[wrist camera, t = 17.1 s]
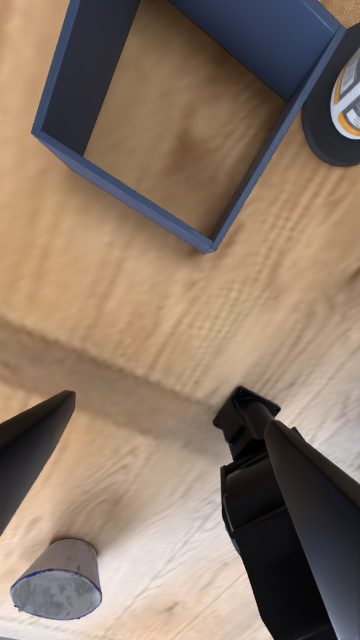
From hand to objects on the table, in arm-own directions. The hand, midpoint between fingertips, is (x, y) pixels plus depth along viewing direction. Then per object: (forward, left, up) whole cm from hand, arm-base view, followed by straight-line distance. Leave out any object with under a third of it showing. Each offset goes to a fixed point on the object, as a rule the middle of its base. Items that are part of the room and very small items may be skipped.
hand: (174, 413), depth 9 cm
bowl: (-5, +44, -13) cm, 46 cm away
